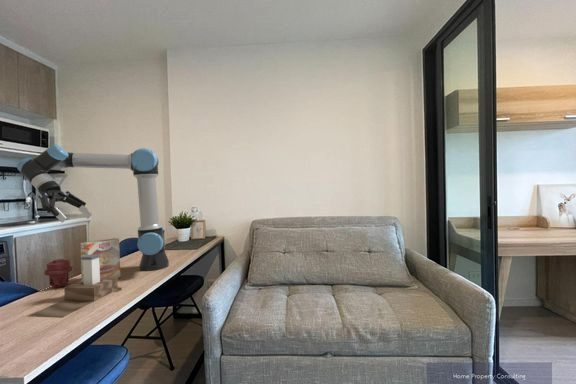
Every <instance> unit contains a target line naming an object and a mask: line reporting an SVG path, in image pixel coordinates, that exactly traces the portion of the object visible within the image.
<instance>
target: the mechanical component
mask: <svg viewBox="0 0 576 384" xmlns="http://www.w3.org/2000/svg"><path fill="white" fill-rule="evenodd" d="M70 264H71V263H70V259H64V258H58V259H54V260H52V261H50V262H48V263H46V269H45V270H44V276H48V279H49V284H48V285H49V286H51V289H53V290H54V288H55V289H57V288H58V289H59V288H62V286H63V287H66V286H69V282H70V278H69V273H70V272H72V271H73V267H72V265H70Z"/></svg>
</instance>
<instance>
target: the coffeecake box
mask: <svg viewBox="0 0 576 384" xmlns="http://www.w3.org/2000/svg"><path fill="white" fill-rule="evenodd" d="M120 250H121V249H120V239H119V238H118V237H108V238H104V239H97V240H90V241H85V242H80V258H81V257H84V256H87V255H100V257H99V266H100V277H118V278H119V277H120V278H121V259H120V258H121V257H120V256H121V255H120ZM80 263H81V264H80V267H81V269H80V270H81V281H82V280H84V278H83V260H81V259H80Z"/></svg>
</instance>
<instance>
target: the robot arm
mask: <svg viewBox="0 0 576 384" xmlns="http://www.w3.org/2000/svg"><path fill="white" fill-rule="evenodd" d="M55 167H59V168H63V169H66V168H82V169H84V168H86V169H87V168H89V169H91V168H92V169H122V170H123V169H125V170H127V169H128V170H130V171H132V175H133V177H134V178H135V179H136V183H137V194H138V196H137V197H138V207H139V222H140V223H139V224H140V226H138V228H137V237H138V238H137V239H138V240H137V243H136V244H137V248H138V251H139V252H141V253H142V255H141V257H140V262H139V265H138V267H139V271H148V272H149V271H156V270H162V269H165V268H168V267H169V265H170V261H169V259H168V258H169V257H168V256H167V253H166V242H165V239H166V238H165V236H166V235H165V232H166V231H165V227H164V226H163V225H161V224H160V221H159V209H158V207H159V206H158V196H157V195H158V194H157V193H158V192H157V181H156V180H157V179H156V178H157V177H158V176H159V158H158V157H157V154H156V153H155V151H153V150H152V149H149V148H146V147H145V148H143V147H141V148H138V149H136V150H135V151H134V152H132V153H130V154H116V153H114V154H113V153H112V154H111V153H88V152H67V151H66V150H65V148H63V147H61V146H60V145H59V144H53V145H51V146H50V147H47V148H46V150H44V151H42V152H41V153H40V154H39V155H38V156H35V158H32V157H25V158H24V159H20V160H19V161H18V162H17V164H16V168H17V170H18V171H19V173H20V174H21V175H22V176H23V177H24V178H25V179H26V180H27V181H28V182H29V183H30V184H31V185H32V186H33V187H34V188H35V189H36V190H37V191H38V192H39V194H38V195H37V197H38V198H39V200H40V204H41V208H42V211H44V212H46V213H47V214H52V216H54V217H55V218H56V219H58V221H59V222H60V223H64V222H65V221H66V220H67V218H68V217H66V215H65V214H64V213H63V212H62V211H61V210H60V209H59V208H58V206H57V207H56V206H55V205H56V203H57V202H62V203H67V204H69V205H71V206H73V207H75V208H77V209H78V211H79V212H80V213H81V214H82V215H83V216H84V217H85V218H86V219H87V220H89V219H90V218H91V216H92V215H93V214H92V213H91V212H90V211H89V209H88V208H87V207H86V204H87V203H86V202H85V201H84V200H82V199H80V198H79V197H77V196H75V195H74V194H72V193H71V192H70V191H69V190H66V191H65V192H64V191H62V190H61V189H62V188H61V186H60V184H58V182H56V181H55V179H54V178H53V177H52V176H51V175H50V174H49V173H48V172H50V171H51V170H52V169H54V168H55Z"/></svg>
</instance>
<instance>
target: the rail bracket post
mask: <svg viewBox="0 0 576 384" xmlns="http://www.w3.org/2000/svg"><path fill="white" fill-rule="evenodd" d="M99 257H100V255H87V256H84V257H81V256H80V261H81V260H83V278H84V285H94V284H96V283H98V282H100V266H99Z"/></svg>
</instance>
